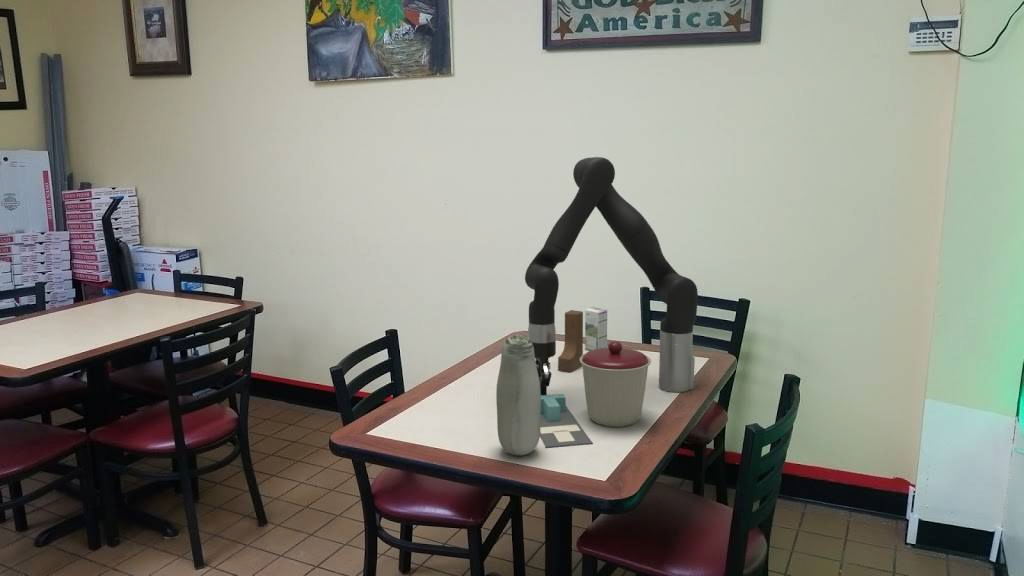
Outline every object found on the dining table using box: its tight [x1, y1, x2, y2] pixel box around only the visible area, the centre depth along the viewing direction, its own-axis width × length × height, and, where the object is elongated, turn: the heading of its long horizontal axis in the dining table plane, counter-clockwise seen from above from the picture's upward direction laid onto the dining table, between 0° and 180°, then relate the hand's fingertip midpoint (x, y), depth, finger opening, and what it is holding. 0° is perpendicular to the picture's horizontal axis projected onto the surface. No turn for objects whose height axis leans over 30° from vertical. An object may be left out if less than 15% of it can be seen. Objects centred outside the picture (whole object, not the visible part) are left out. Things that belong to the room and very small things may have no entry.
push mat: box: [539, 405, 593, 449], centre depth 191 cm, size 12×28×1 cm, turn 10°
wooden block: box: [557, 309, 584, 373], centre depth 237 cm, size 9×4×18 cm, turn 148°
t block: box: [540, 393, 567, 422], centre depth 197 cm, size 9×9×4 cm
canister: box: [580, 340, 652, 428], centre depth 192 cm, size 18×18×21 cm
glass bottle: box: [495, 334, 541, 457], centre depth 172 cm, size 10×10×28 cm
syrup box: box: [584, 306, 608, 351], centre depth 258 cm, size 6×6×14 cm
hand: (542, 398), depth 206 cm, fingers closed
